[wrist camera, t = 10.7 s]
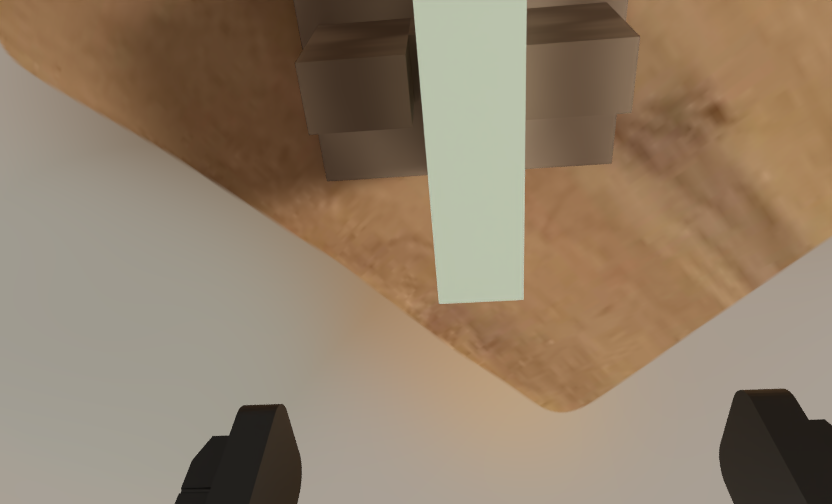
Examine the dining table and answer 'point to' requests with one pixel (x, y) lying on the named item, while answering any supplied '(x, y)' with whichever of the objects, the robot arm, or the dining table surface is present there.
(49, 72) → the dining table surface
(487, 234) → the upright sage green panel
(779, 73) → the dining table surface
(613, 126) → the slot plate
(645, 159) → the dining table surface
